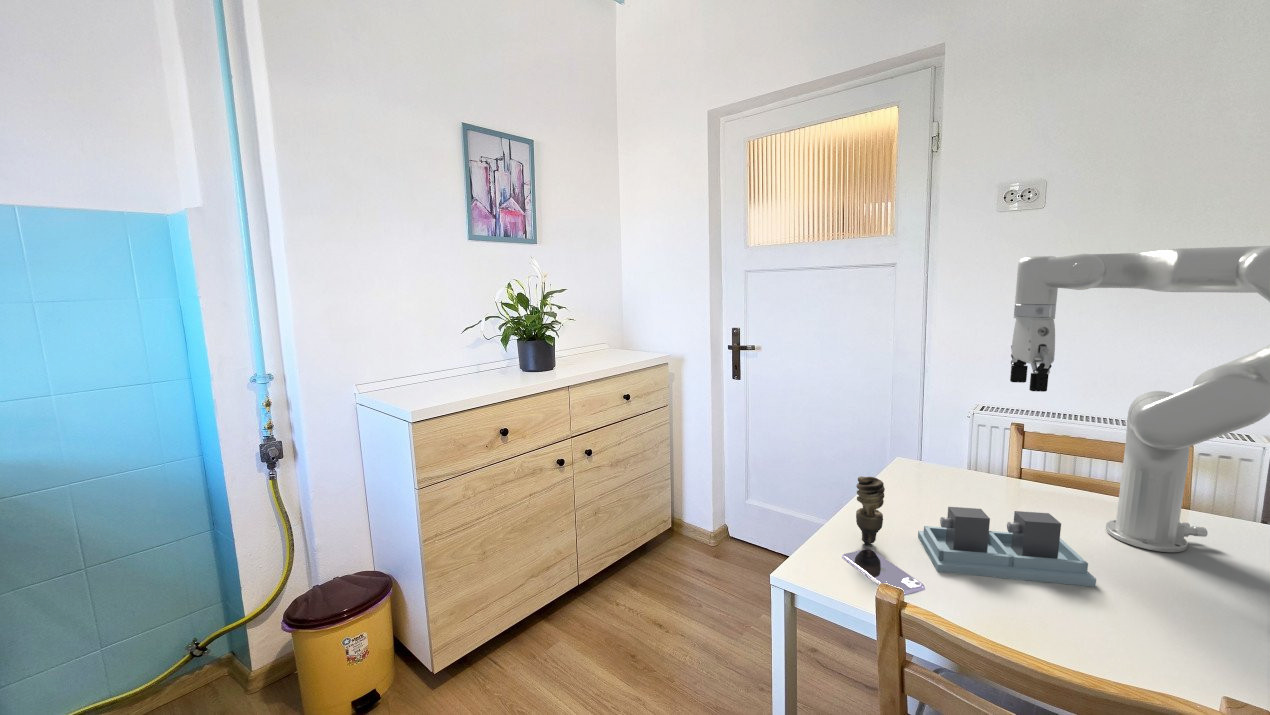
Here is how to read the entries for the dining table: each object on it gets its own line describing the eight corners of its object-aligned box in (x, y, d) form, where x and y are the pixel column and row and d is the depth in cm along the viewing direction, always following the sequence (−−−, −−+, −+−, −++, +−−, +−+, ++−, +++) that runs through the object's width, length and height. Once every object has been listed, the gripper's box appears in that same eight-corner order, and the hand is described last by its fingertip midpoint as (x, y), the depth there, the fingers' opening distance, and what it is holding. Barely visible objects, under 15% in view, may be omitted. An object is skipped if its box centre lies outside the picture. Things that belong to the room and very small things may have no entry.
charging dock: (1055, 548, 111) (1057, 532, 111) (1095, 586, 98) (1097, 568, 97) (917, 537, 117) (918, 522, 117) (937, 571, 104) (938, 554, 103)
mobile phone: (870, 546, 113) (928, 585, 99) (869, 551, 113) (927, 590, 99) (839, 553, 111) (894, 594, 96) (839, 557, 111) (894, 598, 97)
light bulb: (849, 538, 118) (851, 472, 115) (873, 536, 118) (876, 471, 116) (862, 551, 112) (865, 482, 110) (887, 549, 113) (890, 481, 110)
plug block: (1045, 550, 108) (1048, 513, 106) (1057, 562, 103) (1061, 523, 102) (1001, 547, 109) (1004, 510, 108) (1011, 559, 105) (1015, 520, 104)
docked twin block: (978, 545, 110) (981, 508, 109) (986, 557, 106) (989, 518, 105) (936, 542, 112) (939, 506, 111) (943, 553, 108) (946, 515, 107)
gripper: (1075, 315, 112) (1066, 395, 115) (1034, 309, 129) (1028, 379, 131) (1033, 315, 114) (1026, 394, 117) (999, 309, 130) (993, 378, 133)
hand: (1027, 386), depth 124 cm, fingers open, 9 cm apart
